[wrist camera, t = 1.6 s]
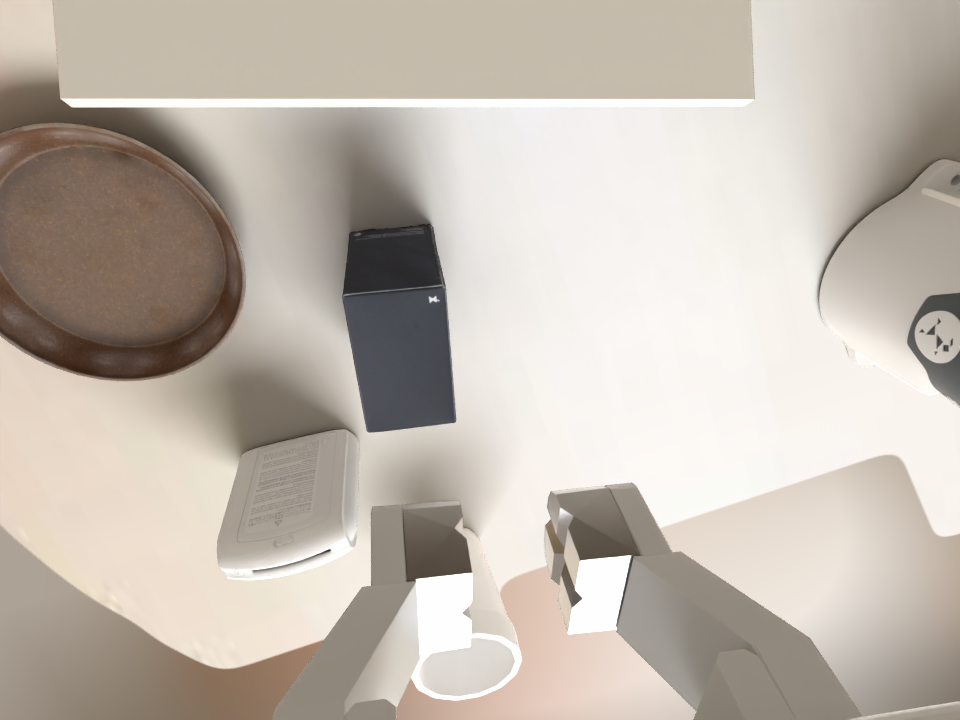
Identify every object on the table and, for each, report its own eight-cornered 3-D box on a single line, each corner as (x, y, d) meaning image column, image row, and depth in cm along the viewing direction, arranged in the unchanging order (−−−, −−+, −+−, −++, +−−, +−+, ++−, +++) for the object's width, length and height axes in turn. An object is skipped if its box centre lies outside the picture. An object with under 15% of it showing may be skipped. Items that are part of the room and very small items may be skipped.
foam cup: (392, 530, 60) (397, 652, 49) (482, 504, 60) (508, 620, 49) (419, 588, 65) (429, 711, 54) (502, 564, 65) (530, 682, 54)
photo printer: (252, 485, 54) (225, 604, 44) (233, 449, 52) (200, 566, 41) (366, 457, 54) (365, 569, 44) (351, 420, 52) (348, 529, 42)
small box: (342, 230, 43) (336, 293, 34) (433, 221, 44) (449, 280, 35) (364, 355, 49) (363, 437, 40) (444, 346, 50) (460, 424, 41)
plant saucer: (78, 48, 36) (55, 53, 33) (304, 261, 44) (300, 278, 42) (-96, 238, 39) (-128, 256, 37) (144, 399, 48) (132, 422, 46)
